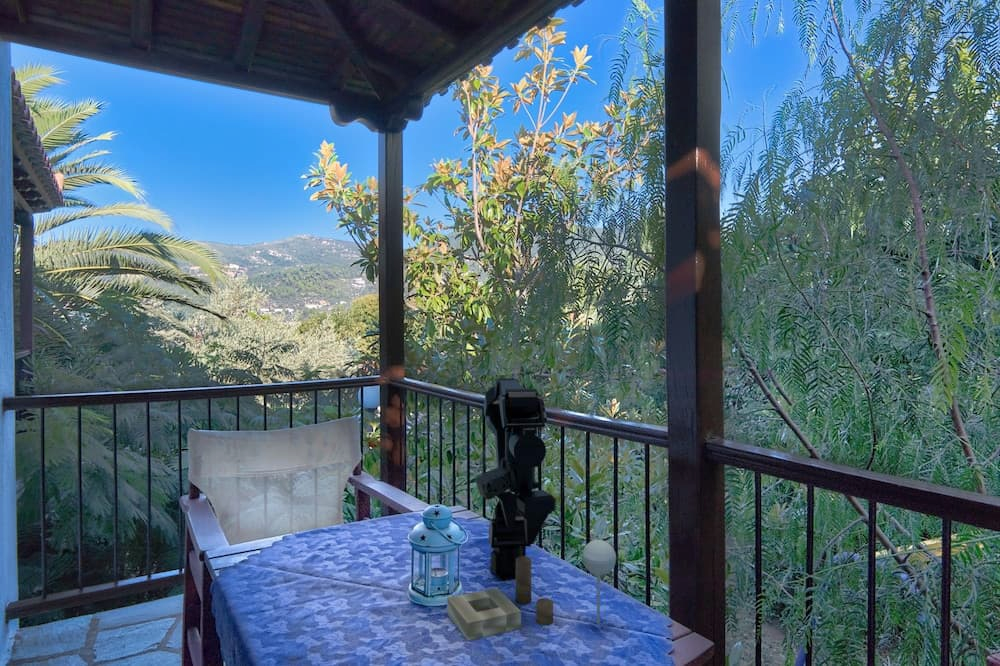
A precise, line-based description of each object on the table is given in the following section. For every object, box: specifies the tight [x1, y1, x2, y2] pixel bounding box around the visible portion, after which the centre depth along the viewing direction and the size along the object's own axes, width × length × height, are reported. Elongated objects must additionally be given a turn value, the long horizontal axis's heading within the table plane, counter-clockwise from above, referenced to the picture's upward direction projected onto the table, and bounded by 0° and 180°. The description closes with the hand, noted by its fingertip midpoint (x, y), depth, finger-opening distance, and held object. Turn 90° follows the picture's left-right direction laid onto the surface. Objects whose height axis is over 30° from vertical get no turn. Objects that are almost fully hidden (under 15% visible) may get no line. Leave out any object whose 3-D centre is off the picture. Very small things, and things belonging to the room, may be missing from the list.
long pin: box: [514, 556, 532, 606], centre depth 117 cm, size 3×3×8 cm
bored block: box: [446, 587, 522, 642], centre depth 109 cm, size 10×10×3 cm
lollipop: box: [581, 539, 617, 626], centre depth 108 cm, size 6×6×15 cm
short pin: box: [535, 597, 554, 626], centre depth 109 cm, size 3×3×4 cm
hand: (519, 535), depth 117 cm, fingers open, 9 cm apart
